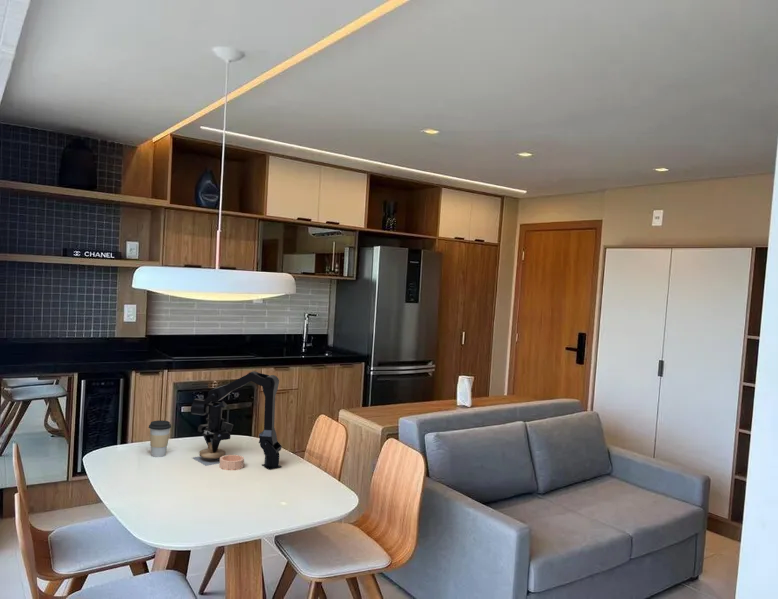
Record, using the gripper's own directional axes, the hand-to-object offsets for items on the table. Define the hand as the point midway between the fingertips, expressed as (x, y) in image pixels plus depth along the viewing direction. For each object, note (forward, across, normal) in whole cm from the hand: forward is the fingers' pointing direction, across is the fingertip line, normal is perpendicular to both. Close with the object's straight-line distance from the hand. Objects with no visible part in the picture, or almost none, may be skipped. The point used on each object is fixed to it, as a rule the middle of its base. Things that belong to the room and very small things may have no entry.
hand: (212, 451), depth 260 cm
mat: (+4, 0, 0) cm, 4 cm away
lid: (+2, 0, 0) cm, 2 cm away
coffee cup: (+4, +17, +17) cm, 24 cm away
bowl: (+4, -13, -2) cm, 14 cm away
